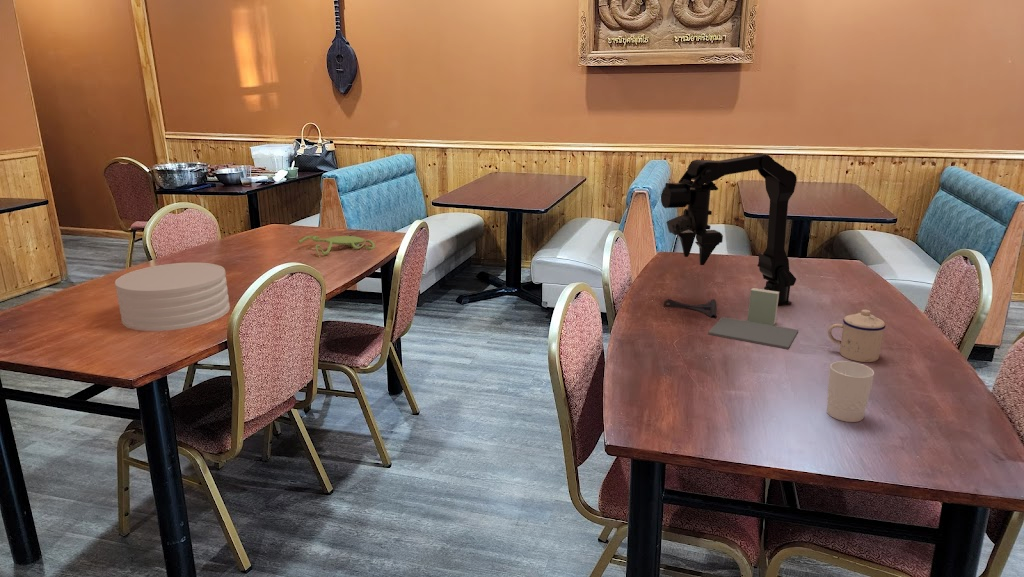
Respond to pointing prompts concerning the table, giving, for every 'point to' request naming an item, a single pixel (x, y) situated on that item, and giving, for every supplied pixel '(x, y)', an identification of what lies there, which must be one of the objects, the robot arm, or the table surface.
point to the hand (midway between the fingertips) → (693, 260)
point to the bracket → (695, 307)
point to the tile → (763, 306)
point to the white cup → (848, 390)
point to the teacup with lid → (860, 336)
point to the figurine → (340, 242)
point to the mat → (754, 332)
